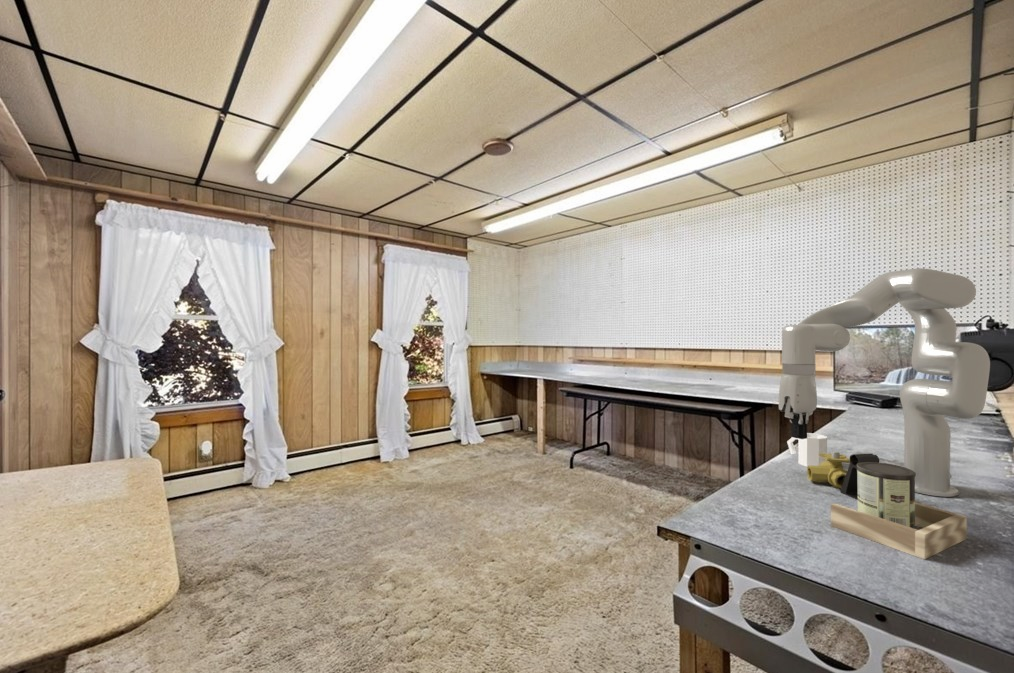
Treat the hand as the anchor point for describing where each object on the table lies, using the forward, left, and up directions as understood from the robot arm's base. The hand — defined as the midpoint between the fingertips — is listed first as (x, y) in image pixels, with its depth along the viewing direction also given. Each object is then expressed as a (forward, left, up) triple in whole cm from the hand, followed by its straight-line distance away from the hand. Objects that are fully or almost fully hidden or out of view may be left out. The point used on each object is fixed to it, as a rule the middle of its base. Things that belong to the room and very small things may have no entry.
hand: (799, 437), depth 118 cm
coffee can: (0, +19, -17) cm, 26 cm away
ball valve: (-20, -4, -17) cm, 27 cm away
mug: (-35, -18, -17) cm, 43 cm away
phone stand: (-17, +7, -17) cm, 25 cm away
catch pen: (0, +21, -17) cm, 27 cm away
